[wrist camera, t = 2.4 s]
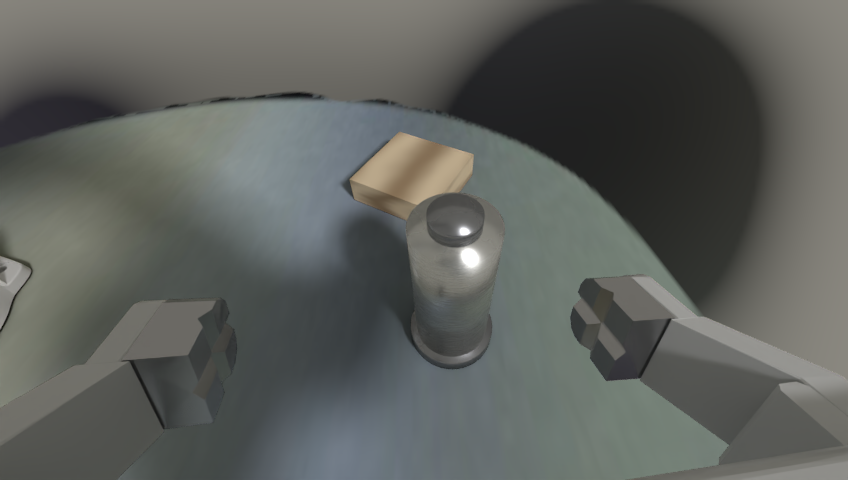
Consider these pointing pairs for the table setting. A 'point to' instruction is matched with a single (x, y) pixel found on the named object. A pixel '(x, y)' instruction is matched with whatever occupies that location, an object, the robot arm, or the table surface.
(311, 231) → the table surface
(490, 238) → the cylinder
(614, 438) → the table surface
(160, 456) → the table surface
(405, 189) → the stand
